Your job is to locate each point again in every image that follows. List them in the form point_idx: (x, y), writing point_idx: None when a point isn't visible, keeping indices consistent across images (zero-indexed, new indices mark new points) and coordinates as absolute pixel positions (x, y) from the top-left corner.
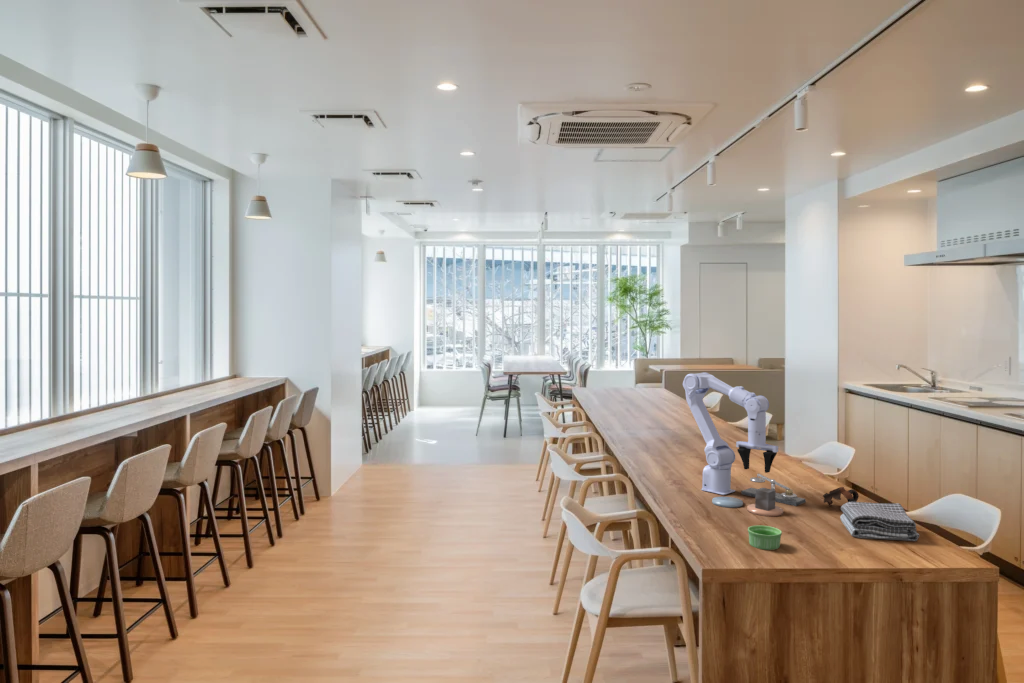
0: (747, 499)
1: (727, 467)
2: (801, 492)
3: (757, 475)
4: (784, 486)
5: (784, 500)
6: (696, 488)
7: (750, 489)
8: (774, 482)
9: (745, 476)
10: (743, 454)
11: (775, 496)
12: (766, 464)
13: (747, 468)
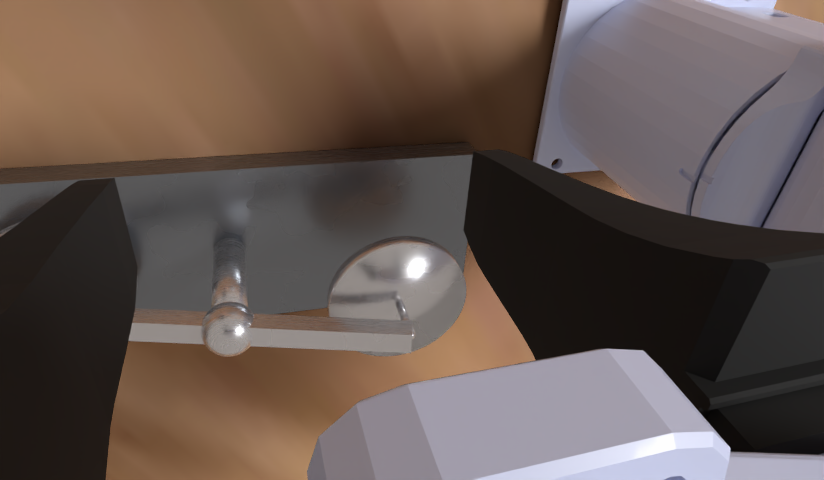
0: (352, 30)
1: (728, 167)
2: (204, 475)
3: (406, 321)
4: None
5: (34, 181)
6: (808, 16)
7: (442, 244)
8: (203, 319)
9: None
10: (653, 240)
11: (178, 224)
12: (10, 247)
13: (471, 197)
